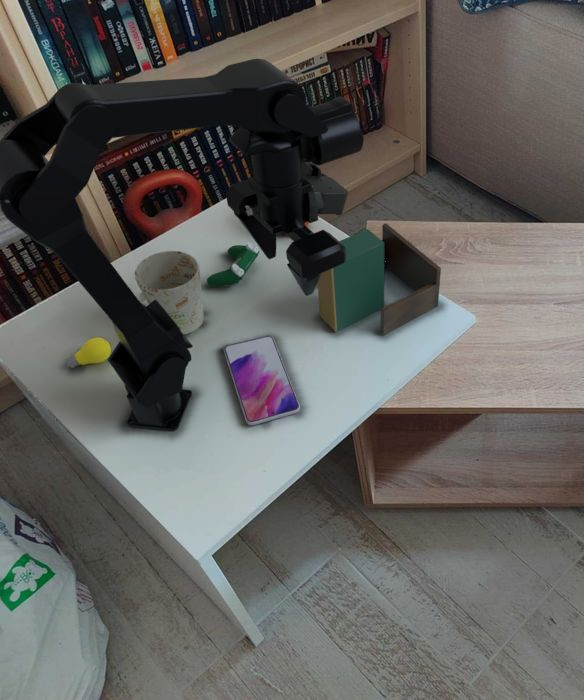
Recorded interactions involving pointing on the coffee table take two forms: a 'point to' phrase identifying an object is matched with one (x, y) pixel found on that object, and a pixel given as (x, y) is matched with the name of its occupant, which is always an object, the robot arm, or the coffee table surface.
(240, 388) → the smartphone
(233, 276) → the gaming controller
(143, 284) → the mug
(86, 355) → the light bulb
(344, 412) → the coffee table surface
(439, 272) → the book rack
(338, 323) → the book
